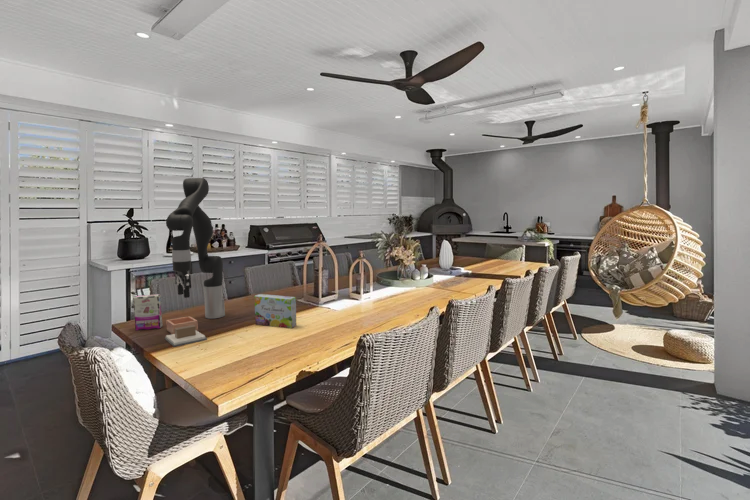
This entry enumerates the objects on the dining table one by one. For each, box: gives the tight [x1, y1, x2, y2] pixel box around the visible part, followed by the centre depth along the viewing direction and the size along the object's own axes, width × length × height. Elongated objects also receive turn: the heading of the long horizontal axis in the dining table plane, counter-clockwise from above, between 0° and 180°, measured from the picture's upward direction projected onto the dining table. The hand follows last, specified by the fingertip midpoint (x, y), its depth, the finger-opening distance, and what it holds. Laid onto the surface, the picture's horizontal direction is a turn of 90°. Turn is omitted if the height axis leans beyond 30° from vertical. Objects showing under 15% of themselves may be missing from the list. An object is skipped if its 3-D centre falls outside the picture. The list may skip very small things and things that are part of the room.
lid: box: [165, 325, 207, 345], centre depth 185 cm, size 13×13×5 cm
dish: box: [165, 315, 199, 335], centre depth 198 cm, size 11×11×5 cm
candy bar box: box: [132, 293, 163, 331], centre depth 202 cm, size 11×5×16 cm, turn 105°
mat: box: [164, 336, 208, 348], centre depth 185 cm, size 14×14×1 cm
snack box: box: [253, 293, 297, 330], centre depth 207 cm, size 21×6×15 cm, turn 71°
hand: (183, 295), depth 183 cm, fingers open, 8 cm apart
